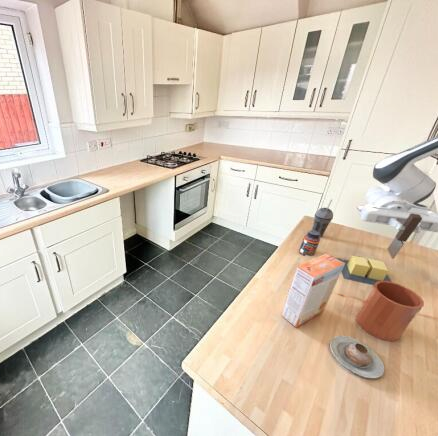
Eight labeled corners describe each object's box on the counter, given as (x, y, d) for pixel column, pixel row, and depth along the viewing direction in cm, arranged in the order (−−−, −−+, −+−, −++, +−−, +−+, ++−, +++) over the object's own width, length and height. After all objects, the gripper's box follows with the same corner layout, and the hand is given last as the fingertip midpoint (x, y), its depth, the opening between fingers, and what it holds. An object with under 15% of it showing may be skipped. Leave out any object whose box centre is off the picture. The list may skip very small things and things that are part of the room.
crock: (391, 318, 78) (413, 286, 71) (405, 346, 70) (432, 313, 63) (352, 308, 82) (369, 276, 75) (361, 333, 74) (381, 301, 67)
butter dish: (382, 269, 99) (383, 267, 98) (396, 292, 88) (397, 290, 87) (335, 259, 105) (336, 257, 104) (342, 280, 94) (343, 278, 93)
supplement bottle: (300, 256, 107) (308, 235, 102) (296, 248, 112) (304, 227, 107) (315, 258, 106) (324, 236, 100) (311, 250, 111) (319, 229, 105)
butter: (377, 271, 96) (383, 261, 94) (382, 281, 92) (388, 270, 89) (346, 264, 100) (351, 255, 98) (350, 274, 95) (355, 264, 93)
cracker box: (306, 300, 86) (326, 252, 75) (323, 312, 81) (347, 263, 71) (278, 314, 80) (296, 265, 70) (295, 328, 76) (316, 278, 66)
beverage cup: (304, 234, 123) (316, 198, 113) (314, 231, 125) (327, 195, 115) (317, 241, 117) (332, 204, 107) (328, 238, 119) (343, 201, 109)
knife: (391, 249, 82) (417, 212, 73) (396, 259, 78) (424, 221, 69) (384, 248, 83) (408, 210, 74) (388, 258, 79) (415, 219, 70)
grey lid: (321, 354, 68) (327, 343, 66) (337, 330, 75) (343, 320, 72) (375, 390, 60) (383, 380, 58) (388, 361, 66) (396, 350, 64)
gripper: (358, 197, 87) (371, 214, 76) (436, 207, 79) (462, 227, 68) (352, 213, 90) (362, 231, 79) (425, 223, 82) (449, 245, 71)
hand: (409, 229), depth 73 cm, fingers closed on knife, 2 cm apart
